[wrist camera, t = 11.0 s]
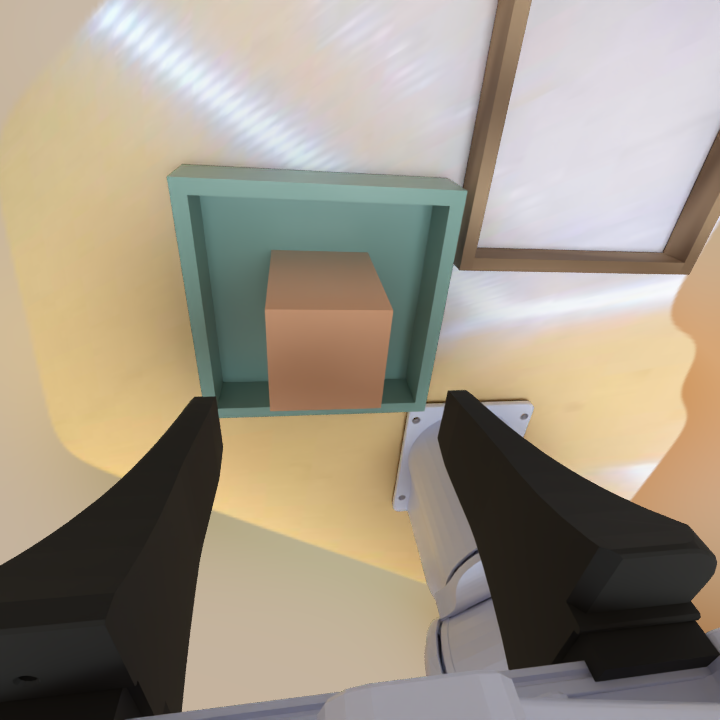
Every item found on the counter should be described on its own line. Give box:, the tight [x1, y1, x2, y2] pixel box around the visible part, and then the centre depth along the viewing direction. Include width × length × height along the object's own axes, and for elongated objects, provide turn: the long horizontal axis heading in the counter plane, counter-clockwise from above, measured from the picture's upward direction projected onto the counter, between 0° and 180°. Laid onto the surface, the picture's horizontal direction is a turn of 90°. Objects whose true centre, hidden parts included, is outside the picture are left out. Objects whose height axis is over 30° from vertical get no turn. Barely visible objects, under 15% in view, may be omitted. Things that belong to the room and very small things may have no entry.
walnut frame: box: [454, 0, 720, 275], centre depth 18 cm, size 12×12×2 cm
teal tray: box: [167, 164, 467, 418], centre depth 20 cm, size 11×11×3 cm
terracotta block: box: [265, 250, 393, 411], centre depth 18 cm, size 4×4×6 cm
